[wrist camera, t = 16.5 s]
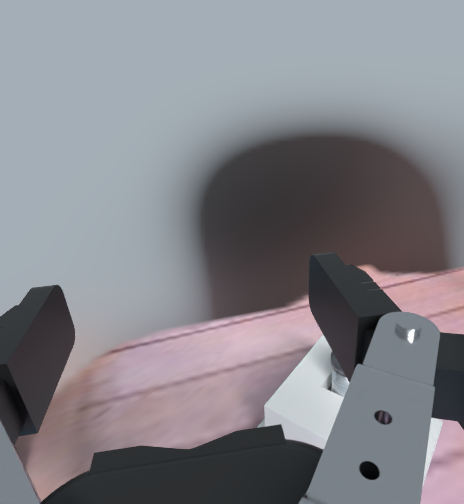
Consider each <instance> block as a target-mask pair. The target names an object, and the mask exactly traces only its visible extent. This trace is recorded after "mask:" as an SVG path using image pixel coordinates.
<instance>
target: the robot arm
mask: <svg viewBox="0 0 464 504" xmlns="http://www.w3.org/2000/svg"><path fill="white" fill-rule="evenodd" d="M309 304H310V308H311V312H312V314H313V316H314V318H315V320H316V322H317V324H318V325H319V327H320V329H321V331H322V333H323V335H324V337H325V338H326V340H327V342H328V344H329V346H330V348H331V350H332V351H333V353H334V355H335V357H336V359H337V361H338V363H339V364H340V366H341V368H342V370H343V372H344V374H345V375H346V377H347V379H348V381H349V386H348V388H347V391H346V393H345V396H344V399H343V401H342V404H341V406H340V409H339V412H338V414H337V417H336V419H335V422H334V424H333V427H332V430H331V432H330V435H329V437H328V440H327V442H326V445H325V448H324V450H323V449H321V448H319V447H317V446H314V445H311V444H308V443H305V442H301V441H296V440H290V439H285V436H284V432H283V429H282V425H281V424H279V425H272V426H266V427H259V428H253V429H246V430H240V431H235V432H233V433H230V434H228V435H225V436H223V437H220V438H218V439H215V440H213V441H210V442H208V443H206V444H203V445H201V446H198V447H196V448H193V449H174V448H162V447H151V446H136V447H130V448H123V449H117V450H110V451H104V452H97V453H94V456H93V460H92V464H91V468H90V471H87V472H85V473H83V474H81V475H79V476H77V477H75V478H73V479H71V480H70V481H68V482H67V483H65V484H64V485H62V486H60V487H59V488H58V489H56V490H55V491H54V492H52V493H51V494H50V495H49V496H47V497H46V498H45V499H44V500H43V501H42V502H41V500H40V497H39V495H38V493H37V491H36V489H35V487H34V485H33V483H32V481H31V479H30V477H29V475H28V472H27V470H26V468H25V466H24V464H23V462H22V460H21V458H20V456H19V454H18V452H17V450H16V448H15V446H14V445H15V443H16V441H17V438H18V436H22V435H28V434H35V433H38V431H39V429H40V426H41V424H42V421H43V419H44V416H45V414H46V411H47V409H48V407H49V404H50V402H51V399H52V397H53V394H54V392H55V389H56V387H57V385H58V382H59V380H60V377H61V375H62V372H63V370H64V367H65V365H66V363H67V360H68V358H69V355H70V352H71V350H72V348H73V345H74V341H75V329H74V325H73V322H72V318H71V315H70V312H69V309H68V306H67V303H66V300H65V297H64V294H63V291H62V289H61V287H60V286H58V285H53V286H44V287H37V288H32V289H30V291H29V292H28V293H27V295H26V296H25V298H24V299H23V300H22V302H21V303H20V304H19V305H17V306H14V307H13V308H11V309H10V310H9V311H7V312H6V313H5V314H3V315H2V316H1V317H0V504H420V501H421V493H422V485H423V478H424V470H425V462H426V454H427V447H428V439H429V431H430V423H431V418H437V419H445V420H453V421H458V423H459V424H460V425H461V427H462V428H463V430H464V335H463V334H451V333H441V332H439V329H438V328H437V326H436V325H435V324H434V323H433V322H431V321H430V320H428V319H427V318H425V317H422V316H420V315H417V314H414V313H409V312H402V311H401V310H400V309H399V308H398V307H397V305H396V304H395V303H394V302H393V301H392V300H391V299H390V298H389V297H388V296H387V295H386V294H385V292H384V291H383V290H380V287H379V286H378V285H377V284H376V283H375V282H373V279H372V278H371V277H370V276H369V275H368V274H367V273H366V272H365V271H363V270H361V269H359V268H357V267H355V266H353V265H345V264H344V263H343V261H342V260H340V258H339V257H338V256H337V254H335V253H334V252H331V253H323V254H315V255H311V256H310V261H309Z"/></svg>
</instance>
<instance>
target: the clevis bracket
mask: <svg viewBox="0 0 464 504" xmlns="http://www.w3.org/2000/svg"><path fill="white" fill-rule="evenodd" d="M331 352H332V350H331V348H330V346H329V344H328V342H327V340H326V338H325V337H324V335H322V337H321V338H320V339H319V340H318V341H317V343H316V344H315V345H314V346H313V347H312V349H311V350H310V351H309V352H308V353H307V355H306V356H305V357H304V358H303V359H302V361H301V362H300V363H299V364H298V365H297V367H296V368H295V369H294V370H293V371H292V373H291V374H290V375H289V376H288V377H287V379H286V380H285V381H284V382H283V384H282V385H281V386H280V387H279V388H278V390H277V391H276V392H275V393H274V394H273V396H272V397H271V398H270V399H269V400H268V402H267V403H266V404H265V405H264V414H265V418H264V419H263V421H262V422H261V423H260V424H259V426H258V427H257V428H259V427H266V426H272V425H279V424H281V425H282V429H283V432H284V436H285V439H290V440H296V441H301V442H305V443H308V444H311V445H314V446H317V447H319V448H321V449H323V450H324V448H325V445H326V442H327V440H328V437H329V435H330V432H331V430H332V427H333V424H334V422H335V419H336V417H337V414H338V412H339V409H340V406H341V404H342V401H343V399H344V397H342V396H340V395H338V394H336V393H334V392H332V367H331V364H330V360H331ZM442 424H443V421H441V420H439V419H437V418H431V423H430V431H429V439H428V447H427V454H426V462H425V470H424V478H423V484H424V481H425V478H426V475H427V472H428V469H429V466H430V462H431V459H432V456H433V453H434V450H435V447H436V444H437V441H438V437H439V434H440V431H441V428H442ZM422 487H423V485H422Z"/></svg>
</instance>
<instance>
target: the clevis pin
mask: <svg viewBox="0 0 464 504" xmlns="http://www.w3.org/2000/svg"><path fill="white" fill-rule="evenodd" d="M330 364H331V367H332V392H334V393H336V394H338V395H340V396H342V397H344V396H345V393H346V391H347V388H348V386H349V381H348V379H347V377H346V375H345V374H344V372H343V370H342V368H341V366H340V364H339V363H338V361H337V359H336V357H335V355H334V353H333V351H332V352H331V360H330Z"/></svg>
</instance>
